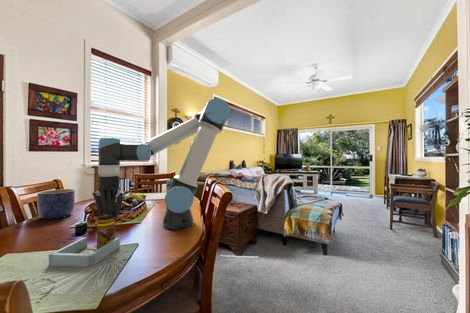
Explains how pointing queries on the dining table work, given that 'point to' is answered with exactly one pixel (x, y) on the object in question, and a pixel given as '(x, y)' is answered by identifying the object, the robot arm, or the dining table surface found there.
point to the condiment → (104, 230)
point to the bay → (68, 257)
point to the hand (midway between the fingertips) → (109, 232)
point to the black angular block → (80, 230)
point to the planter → (56, 203)
